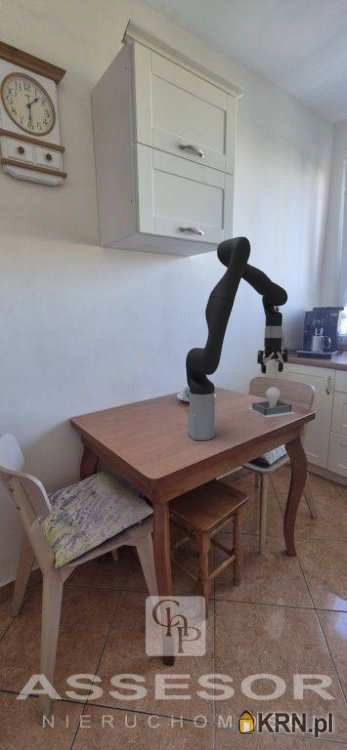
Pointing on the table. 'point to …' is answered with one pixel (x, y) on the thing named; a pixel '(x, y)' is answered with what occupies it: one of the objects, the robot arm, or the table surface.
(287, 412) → the grey flat square tray
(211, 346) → the robot arm
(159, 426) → the table surface
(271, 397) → the lightbulb
